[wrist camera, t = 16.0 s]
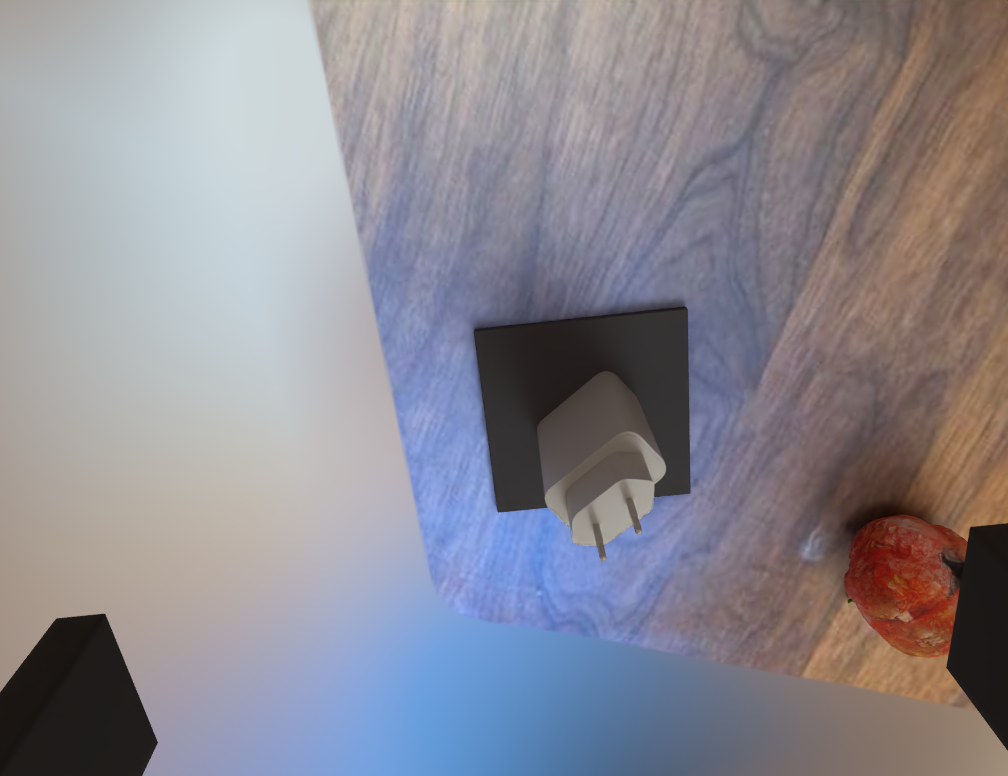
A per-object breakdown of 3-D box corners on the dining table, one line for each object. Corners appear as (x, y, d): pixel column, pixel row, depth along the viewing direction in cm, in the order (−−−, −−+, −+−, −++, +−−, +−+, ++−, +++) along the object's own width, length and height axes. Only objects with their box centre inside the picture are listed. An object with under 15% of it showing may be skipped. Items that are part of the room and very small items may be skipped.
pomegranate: (899, 579, 49) (1048, 540, 40) (886, 688, 45) (1049, 670, 36) (806, 521, 48) (939, 469, 40) (784, 627, 44) (927, 595, 36)
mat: (474, 328, 40) (473, 331, 39) (685, 306, 39) (687, 308, 39) (497, 509, 44) (497, 512, 43) (688, 490, 43) (690, 493, 43)
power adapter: (644, 404, 41) (699, 530, 30) (568, 465, 42) (594, 607, 31) (607, 365, 40) (650, 480, 29) (530, 428, 41) (544, 561, 30)
